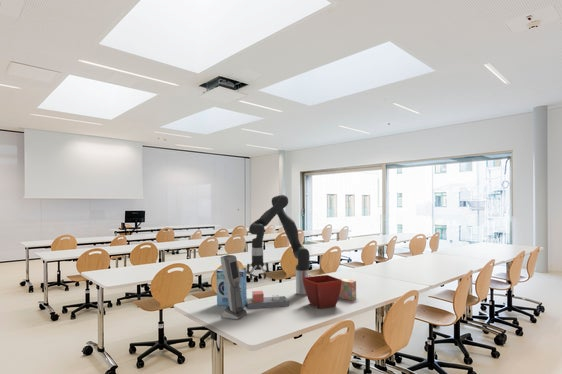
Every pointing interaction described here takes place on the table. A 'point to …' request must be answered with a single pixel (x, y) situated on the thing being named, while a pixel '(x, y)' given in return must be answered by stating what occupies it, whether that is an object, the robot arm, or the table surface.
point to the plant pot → (322, 290)
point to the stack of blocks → (348, 289)
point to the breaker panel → (267, 302)
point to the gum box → (222, 288)
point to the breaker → (275, 297)
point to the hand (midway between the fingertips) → (257, 279)
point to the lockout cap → (257, 296)
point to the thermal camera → (232, 288)
